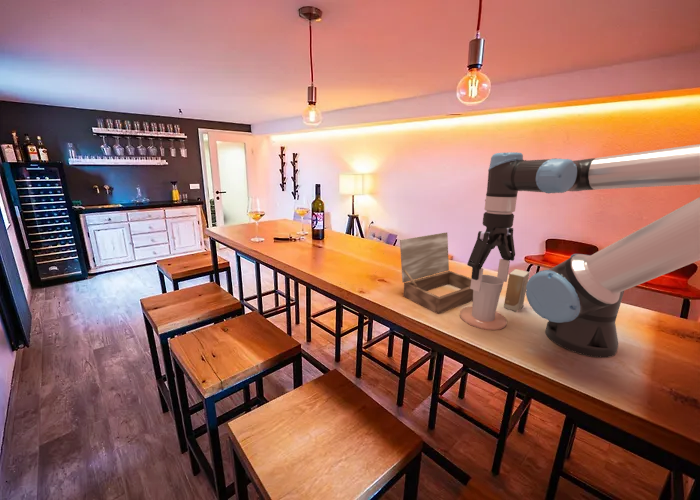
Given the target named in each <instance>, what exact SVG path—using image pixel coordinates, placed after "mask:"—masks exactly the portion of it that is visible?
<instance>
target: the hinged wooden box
mask: <svg viewBox="0 0 700 500" xmlns="http://www.w3.org/2000/svg"><path fill="white" fill-rule="evenodd" d="M448 236H449V235H448V232H441V233H434V234H428V235H423V236H417V237H415V236H414V237H410V238H402V239H399V247H400V248H399V249H400V260H401V261H400V263H401V267H400V268H401V279H402V280H401V281H402V283H403V294H402V297H404V298H406V299H408V300H409V301H412V302H414V303H416V304H418V305H420V306H421V307H424V308H426V309H427V310H430V311H431V312H434V313H436V314H438V315H439V314H442V313H444V312H446V311H449V310H452V309H454V308H456V307H460V306H462V305H465V304H466V303H470V302H473V289H470V286H471V277H468V276H466V275H463V274H460V273H457V272H454V271H451V270H450V268H449V267H450V266H449V265H450V262H449V240H448V239H449V238H448ZM448 285H450V286H452V287H454V288H457V289H458V290H455V291H451V292H449V293H447V294H444V295H440V296H438V295H436V294H434V293H432V292H429V291H431V290H433V289H438V288H441V287H443V286H448Z"/></svg>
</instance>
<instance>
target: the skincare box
mask: <svg viewBox="0 0 700 500" xmlns="http://www.w3.org/2000/svg"><path fill="white" fill-rule="evenodd" d="M529 279H530V272H529V271H526V270H522V269H517V268H515V269H513V270H512V271H511V272H508V278H507V286H506V291H505V292H506V293H505V297H504V303H503V308H504V309H507V310H510V311H513V312H518V313H519V311H520V310H522V309H521V308H523V306H524V302H525V297H526V285H527V282H528V280H529Z"/></svg>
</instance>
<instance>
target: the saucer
mask: <svg viewBox="0 0 700 500" xmlns="http://www.w3.org/2000/svg"><path fill="white" fill-rule="evenodd" d="M459 317H460V319H461V320H462V321H463V322H464V323H465V324H467V325H470V326H471V327H475V328H477V329H481V330H488V331H499V330H501V329H504V328H505V327H507V323H508V320H507V318H506V317H505V316H504V315H503V314H501V313H500V312H498V311H496V312H495V318H494V320H493V321H490V322H486V321H481V320H478V319H476V318H474V317H473V316H472V306H466V307H463V308H462V309H460V312H459Z"/></svg>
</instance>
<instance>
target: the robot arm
mask: <svg viewBox="0 0 700 500" xmlns="http://www.w3.org/2000/svg"><path fill="white" fill-rule="evenodd" d="M691 185H692V186H693V185H700V143H699V144H691V145H685V146H684V145H682V146H676V147H670V148H661V149H654V150H647V151H646V150H645V151H639V152H632V153H631V152H629V153H623V154H616V155H607V156H600V157H593V158H585V159H584V158H583V159H578V160H572V159H569V158H546V159H544V158H543V159H532V160H531V159H530V160H528V159H524V154H523V153H522V152H518V151H517V152H512V151H511V152H510V151H509V152H496V153H493V154H492V156H491V157H490V163H489V167H488V174H487V185H486V186H487V187H486V194H485V199H484V211H485V212H484V213H483V217H482V226H483V227H486V228H485V231H482V230H481V231H480V230H479V231H478V233H477V237H476V241H475V244H474V247H473V248H472V250H471V254H470V256H469V259H468V260H467V261H468V262H467V266H469V267H471V276H470V278H471V286H470V289H473V290H475V291H478V292H480V291H481V284H482V276H483V274H484V268H483V266H484V264H485V262H486V261H487V259H488V257H489V254H491V252H492V250H494V249H495V247H497V249H498V251H499V254H500V257H501V258H500V259H499V262H498V268H497V269H498V270H497V275H496V277H498V278H501V279H502V280H503V281H504V282H505V283H508V278H509V270H510V269H509V268H510V263H511V262H510V261H512V262H514V260H515V257H516V250H515V241H514V227H513V225H514V219H515V215H514V212H516V207H517V200H518V192H532V193H546V194H565V193H567V192H582V191H594V190H597V191H598V190H611V189H615V190H616V189H617V190H618V189H630V188H633V189H635V188H652V187H656V188H657V187H671V186H673V187H674V186H691ZM699 261H700V196H699V197H697V198H695V199H693V200H692V201H690V202H688V203H685V204H684V205H683V206H680V207H679V208H677V209H675V210H673V211H671V212H669V213H667V214H666V215H664V216H662V217H660V218H658V219H656V220H654V221H652V222H651V223H649V224H647V225H644V226H643V227H641V228H639V229H638V230H636V231H633V232H632V233H629V234H628V235H626V236H625V237H623V238H620V239H619V240H617V241H615V242H612V243H611V244H610V245H608V246H606V247H603V248H602V249H600V250H598V251H596V252H595V253H593V254H583V253H573V254H571V255H570V257H569V258H568V259H565V260H564V261H562V262H560V263H559V264H556V265H555V266H553V267H551V268H549V269H544V270H540V271H537V272H536V273H535V274H533V275H531V276H530V277H529V278H528V282H527V285H526V293H525V297H526V300H527V302H528V305H529V306H530V307H531V309H532V310H533V311H534V312H535V313H536V314H537V316H540V317H541V318H542V319H545V320H547V323H546V327H545V331H544V333H545V335H546V336H547V337H548V339H549V340H551V341H552V342H553V343H555V344H556V345H558V346H559V347H562V348H564V349H566V350H568V351H571V352H573V353H577V354H580V355H584V356H587V357H592V358H600V359H601V358H610V357H611V358H612V357H613V356H615V355H616V354H617V351H618V347H619V339H618V332H617V326H616V320H617V317H618V314H619V311H620V306H621V303H622V300H623V296H624V293H625V291H626V290H629V289H631V288H634V287H637V286H639V285H641V284H644V283H646V282H649V281H651V280H654V279H657V278H658V277H659V278H660V277H661V276H664V275H666V274H670V273H671V272H674V271H676V270H678V269H681V268H683V267H686V266H689V265H691V264H694V263H696V262H699Z"/></svg>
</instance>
